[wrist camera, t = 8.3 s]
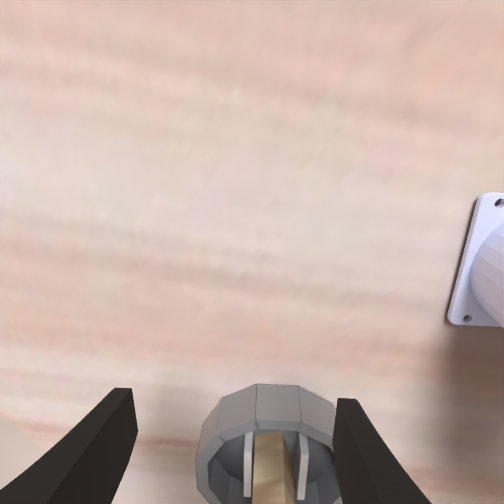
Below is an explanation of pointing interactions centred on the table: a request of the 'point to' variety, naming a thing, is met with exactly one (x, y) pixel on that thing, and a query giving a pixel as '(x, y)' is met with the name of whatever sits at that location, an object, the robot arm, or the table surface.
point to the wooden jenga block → (272, 470)
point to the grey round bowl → (261, 422)
